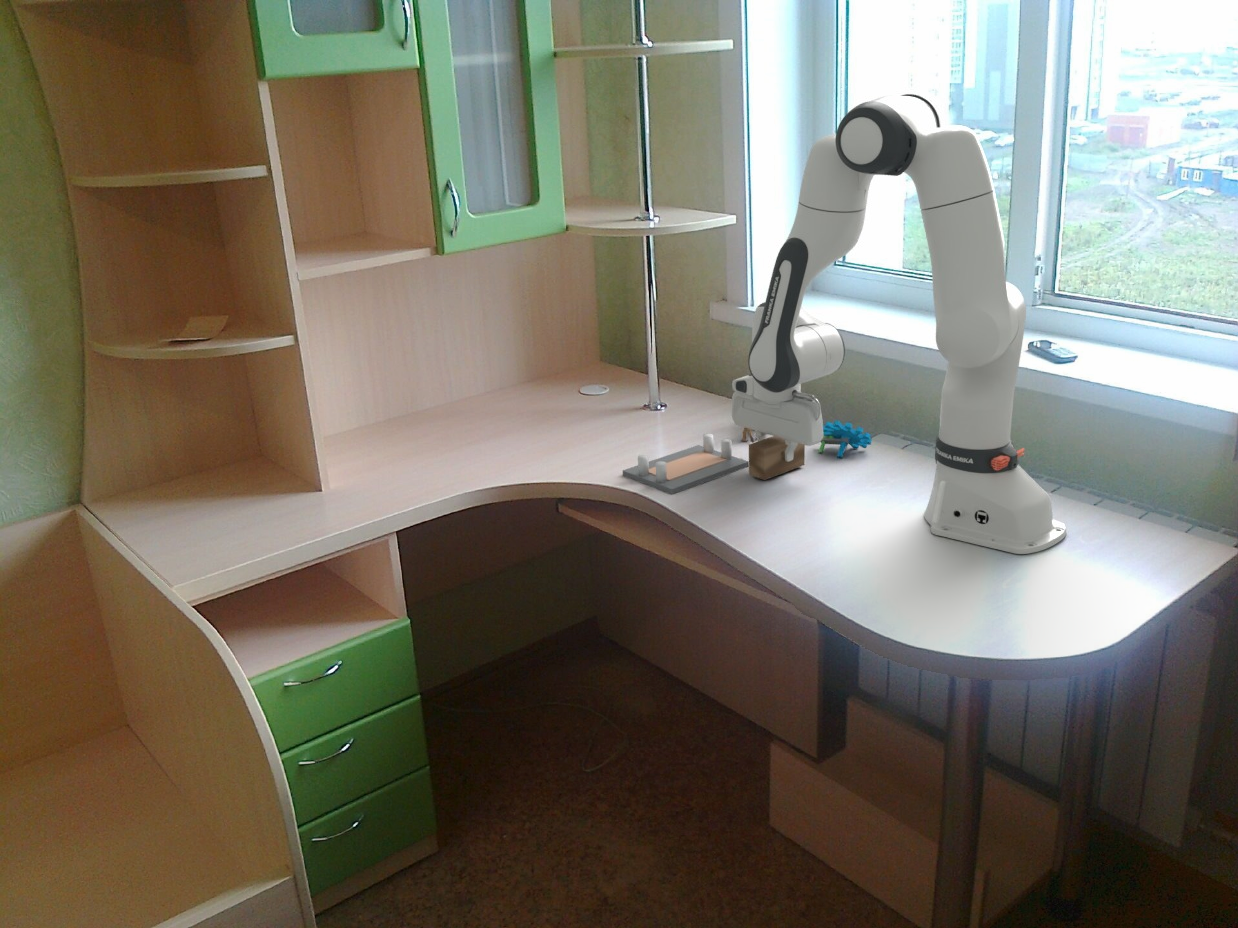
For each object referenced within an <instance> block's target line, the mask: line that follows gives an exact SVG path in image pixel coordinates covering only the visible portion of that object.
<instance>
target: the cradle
mask: <svg viewBox="0 0 1238 928" xmlns="http://www.w3.org/2000/svg"><path fill="white" fill-rule="evenodd" d="M702 440H703V442H702V443H703V444H702V445H700V444H698V445H693V446H691V447H688V448H685V449H681V450H680V451H677V452H673V453H671V454H667V455H664V456H662V457H659V458H655V459H652V460H650V459H649V457H650V456H649V455H647V454H641V455H638V456H637V465H635V466H632V467H629V468H626V469H623V470H622V476H623V477H626V478H628V479H631V480H634V481H636V482H639V483H642V484H644V485H646V486H649V487H652V488H655V489H658V490H659V491H663V492H666V493H668V494H670V495H674V494H676V493H680V492H683V491H685V490H688V489H690V488H693V487H696V486H698V485H702V484H704V483H706V482H710V481H712V480H715V479H717V478H721V477H723V476H725V475H729V474H731V473H734V472H736V471H739V470H743V469H745V468H747V467H748V468H749V460H746V459H743V458H741V457H740V458H739V457H736V456H732V455H733V454H732V453H733V452H732V440H731V439H729V438H728V439H727V438H726V439H721V441H720V451H718V450H715V449H714V447H715V446H714V434H712V433H704V434H703V435H702Z"/></svg>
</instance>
